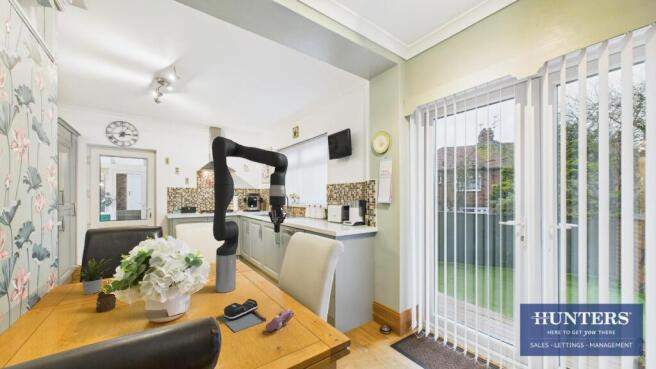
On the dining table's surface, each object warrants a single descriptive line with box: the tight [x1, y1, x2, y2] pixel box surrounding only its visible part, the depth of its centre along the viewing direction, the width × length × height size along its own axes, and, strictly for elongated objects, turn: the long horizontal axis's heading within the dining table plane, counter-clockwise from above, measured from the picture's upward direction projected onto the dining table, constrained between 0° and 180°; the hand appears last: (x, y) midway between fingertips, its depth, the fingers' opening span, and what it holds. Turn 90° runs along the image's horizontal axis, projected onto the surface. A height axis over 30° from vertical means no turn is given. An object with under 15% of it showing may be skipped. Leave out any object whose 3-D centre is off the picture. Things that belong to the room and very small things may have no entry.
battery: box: [223, 298, 259, 320], centre depth 98 cm, size 7×4×11 cm
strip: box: [252, 309, 267, 323], centre depth 98 cm, size 14×1×1 cm, turn 43°
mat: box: [219, 312, 264, 333], centre depth 94 cm, size 14×11×1 cm
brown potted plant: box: [95, 279, 117, 313], centre depth 102 cm, size 6×6×12 cm
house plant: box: [75, 258, 112, 295], centre depth 120 cm, size 14×14×16 cm
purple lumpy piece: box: [265, 308, 295, 332], centre depth 89 cm, size 10×5×7 cm, turn 150°
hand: (277, 232), depth 118 cm, fingers closed
